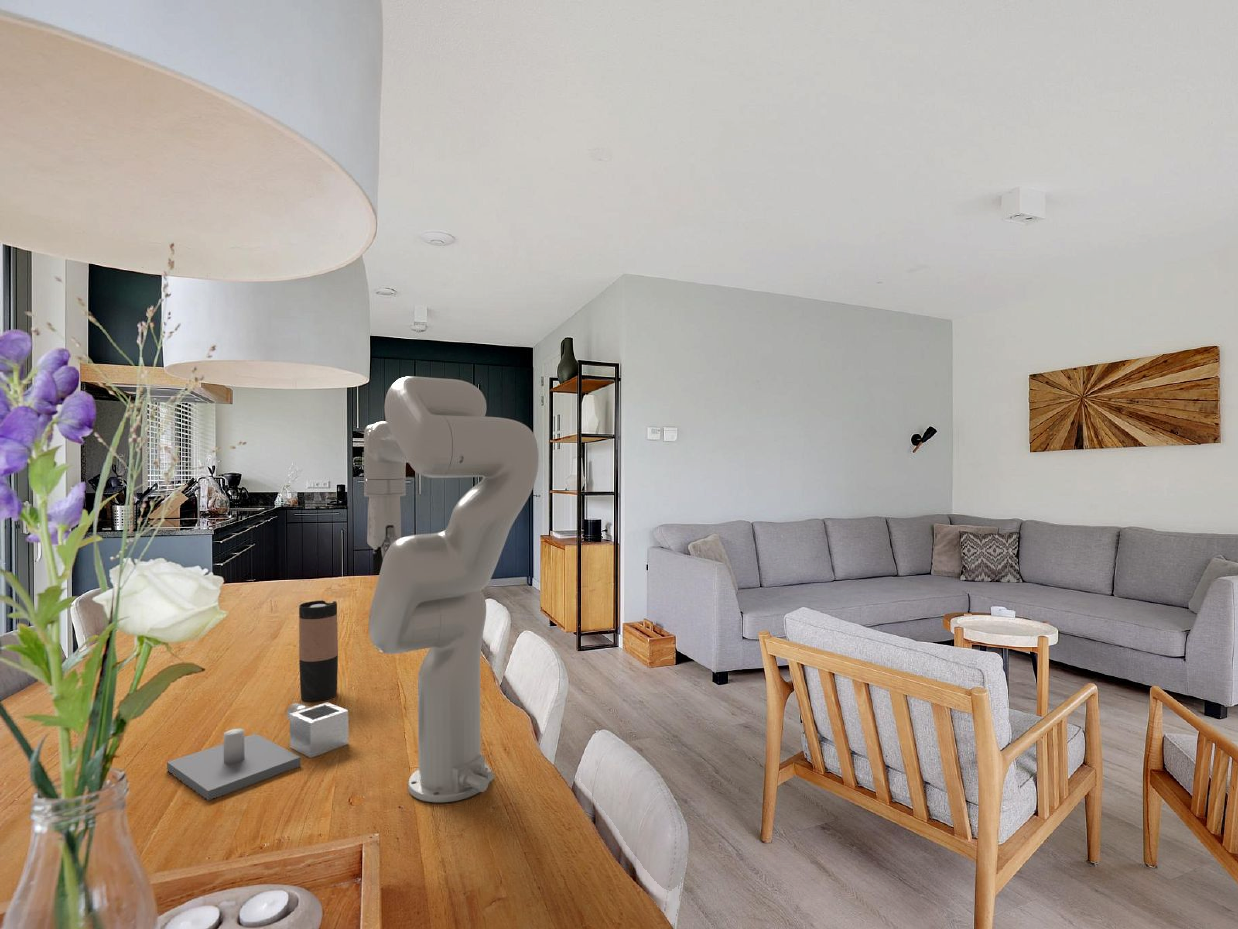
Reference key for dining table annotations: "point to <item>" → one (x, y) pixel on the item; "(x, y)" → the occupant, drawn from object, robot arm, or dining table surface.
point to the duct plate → (232, 764)
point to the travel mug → (318, 650)
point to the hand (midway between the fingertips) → (385, 577)
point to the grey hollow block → (317, 728)
